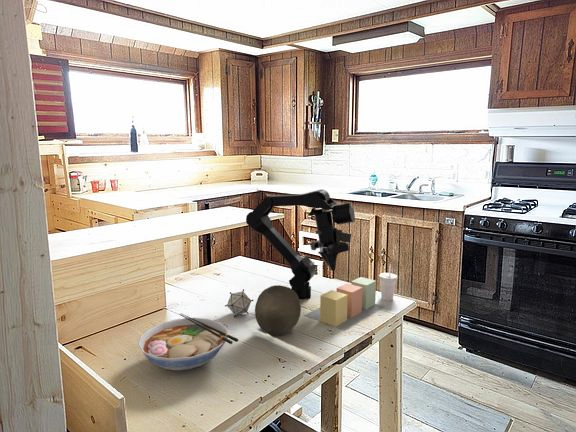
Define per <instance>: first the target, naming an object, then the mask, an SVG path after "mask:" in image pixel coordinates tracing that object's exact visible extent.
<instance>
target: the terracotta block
mask: <svg viewBox="0 0 576 432" xmlns="http://www.w3.org/2000/svg"><path fill="white" fill-rule="evenodd" d="M336 292H340V293H343V294H347V295H348V297H347V316H348V317H351V318H352V317H354V316H355V315H357V314H359V313H361V312H362V287H359V286H355V285H352V284H351V283H345V284H342V285H340V286H337V287H336Z"/></svg>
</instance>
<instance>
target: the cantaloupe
mask: <svg viewBox="0 0 576 432" xmlns="http://www.w3.org/2000/svg"><path fill="white" fill-rule="evenodd" d="M301 307H302V306H301V301H300V300H299V297H298V295H297V294H296V293H295V291H294V290H292V289H291V287H288V286H285V285H281V284H277V285H271V286H268V287H267V288H265V289H263V290H262V291H261V293H260V294H259V295H258V297H257V300H256V303H255V307H254V314H255V315H254V316H255V320H256V322H257V325H258V326H259V328H260V329H261V330H262V331H263V332H265V334H267V335H269V336H273V337H274V336H282V335H283V336H284V335H285V334H288V333H289V332H290V331H292V330H293V329H294V328H295V326H296V325H297V324H298V322H299V320H300V316H301V310H302V308H301Z"/></svg>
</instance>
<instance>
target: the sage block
mask: <svg viewBox="0 0 576 432" xmlns="http://www.w3.org/2000/svg"><path fill="white" fill-rule="evenodd" d="M350 284H352V285H355V286H359V287H362V309H368V308H369V307H371V306H373V305H375V304H376V295H377V293H376V291H377V289H376V288H377V280H375V279H370V278H367V277H363V276H360V277H358V278H356V279H353V280H351V283H350Z"/></svg>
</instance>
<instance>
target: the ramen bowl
mask: <svg viewBox="0 0 576 432" xmlns="http://www.w3.org/2000/svg"><path fill="white" fill-rule="evenodd" d="M179 315H180V316H182V317H183V318H177V319H172V320H169V321H164V322H161V323H159V324H157V325H154V326H152V327H150V328H149V329H147V330H146V331H145V332H144V333H143V334H142V335H140V337H139V339H138V343H137V346H138V347H139V348H140V350H141V353H142V354H143V355H144V356H145V358H147V360H148V361H149V362H150V363H152V364H154V365H156V366H158V367H160V368H162V369H165V370H171V371H184V370H185V371H186V370H191V369H194V368H198V367H200V366H203V365H205V364H206V363H208V362H210V361H211V360H213V359H214V358H215V357H216V356H217V355H218V354H219V352H220V351H221V349H222V347H223V346H224V345H225V343H228V344H229V345H233V343H234V342H236V343H237V342H239V338H238V337H235V336H233V335H231V334H228V332H229V331H228V328H227V327H226V326H225V325H223V323H222V322H220V321H216V320H213V319H211V318H210V319H209V318H202V317H201V318H200V317H190V316H188V315H186V314H183V313H179ZM233 341H234V342H233Z"/></svg>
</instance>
